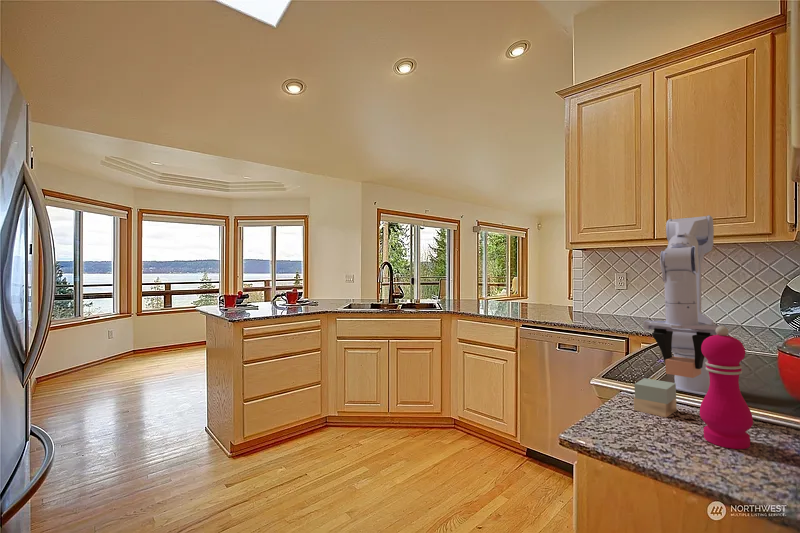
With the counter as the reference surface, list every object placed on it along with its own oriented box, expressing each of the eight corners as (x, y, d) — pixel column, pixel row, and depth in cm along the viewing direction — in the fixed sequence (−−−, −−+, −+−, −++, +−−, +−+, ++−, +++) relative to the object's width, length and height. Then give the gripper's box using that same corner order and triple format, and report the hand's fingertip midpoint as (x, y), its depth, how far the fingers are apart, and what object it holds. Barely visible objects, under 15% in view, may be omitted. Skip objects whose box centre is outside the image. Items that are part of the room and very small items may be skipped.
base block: (645, 405, 90) (645, 391, 90) (676, 411, 85) (676, 397, 85) (634, 411, 86) (633, 397, 86) (665, 418, 82) (665, 404, 82)
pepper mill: (699, 430, 75) (695, 322, 75) (751, 438, 71) (746, 324, 71) (701, 444, 69) (696, 327, 69) (757, 454, 65) (751, 330, 65)
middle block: (644, 391, 90) (644, 378, 90) (676, 397, 86) (675, 383, 86) (634, 397, 86) (634, 383, 86) (667, 404, 82) (666, 389, 82)
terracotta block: (674, 369, 90) (673, 356, 90) (701, 373, 86) (700, 359, 86) (665, 373, 87) (665, 359, 87) (693, 377, 83) (692, 363, 83)
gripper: (636, 302, 90) (639, 363, 90) (716, 305, 79) (719, 375, 79) (649, 300, 95) (651, 358, 95) (726, 303, 83) (729, 369, 83)
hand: (683, 365), depth 87 cm, fingers closed on terracotta block, 5 cm apart
